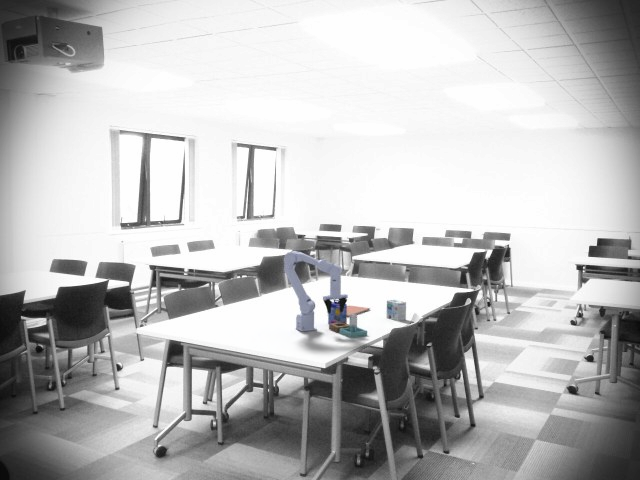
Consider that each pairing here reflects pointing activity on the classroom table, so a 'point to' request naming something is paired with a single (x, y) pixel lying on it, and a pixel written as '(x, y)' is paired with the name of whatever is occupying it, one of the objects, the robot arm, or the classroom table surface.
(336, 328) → the hitch block
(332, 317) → the ink cartridge box
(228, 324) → the classroom table surface
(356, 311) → the notebook
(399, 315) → the light bulb box
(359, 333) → the tray
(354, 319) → the steel pin
